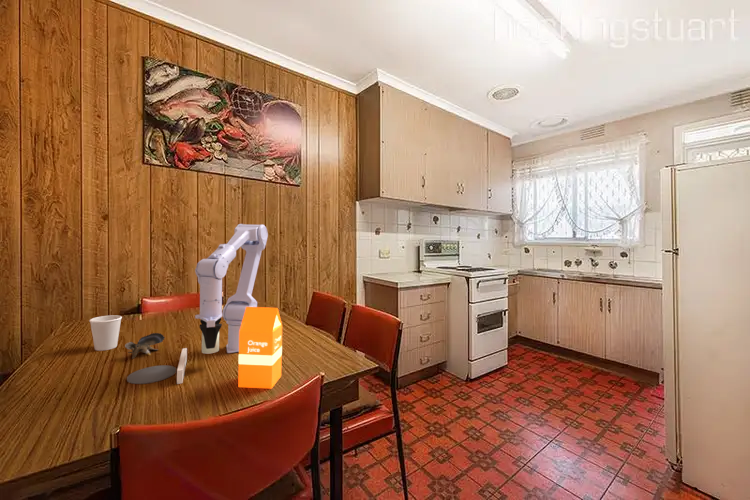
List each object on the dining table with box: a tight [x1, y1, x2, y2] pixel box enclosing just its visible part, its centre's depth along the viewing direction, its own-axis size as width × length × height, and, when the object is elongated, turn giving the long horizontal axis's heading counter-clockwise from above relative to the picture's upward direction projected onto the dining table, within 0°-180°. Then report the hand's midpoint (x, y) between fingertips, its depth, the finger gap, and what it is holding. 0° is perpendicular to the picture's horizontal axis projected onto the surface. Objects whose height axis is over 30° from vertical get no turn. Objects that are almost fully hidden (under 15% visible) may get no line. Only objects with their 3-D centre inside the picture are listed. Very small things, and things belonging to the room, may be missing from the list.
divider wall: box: [176, 347, 188, 385], centre depth 89 cm, size 1×18×4 cm, turn 28°
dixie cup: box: [89, 314, 123, 352], centre depth 105 cm, size 8×8×10 cm
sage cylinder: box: [201, 331, 220, 355], centre depth 92 cm, size 4×4×6 cm
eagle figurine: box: [124, 332, 165, 360], centre depth 100 cm, size 8×7×9 cm
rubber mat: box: [126, 364, 177, 385], centre depth 85 cm, size 11×11×1 cm
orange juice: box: [237, 306, 283, 390], centre depth 83 cm, size 8×9×20 cm
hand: (210, 345), depth 92 cm, fingers closed on sage cylinder, 4 cm apart
